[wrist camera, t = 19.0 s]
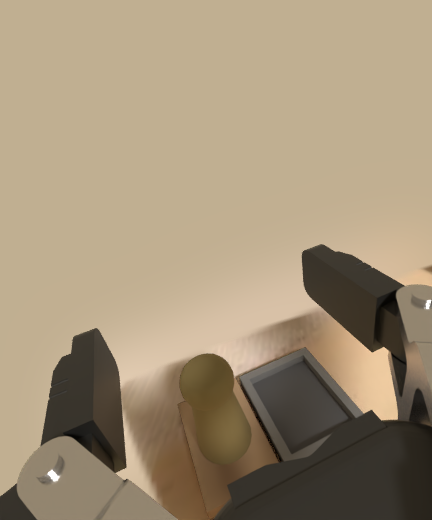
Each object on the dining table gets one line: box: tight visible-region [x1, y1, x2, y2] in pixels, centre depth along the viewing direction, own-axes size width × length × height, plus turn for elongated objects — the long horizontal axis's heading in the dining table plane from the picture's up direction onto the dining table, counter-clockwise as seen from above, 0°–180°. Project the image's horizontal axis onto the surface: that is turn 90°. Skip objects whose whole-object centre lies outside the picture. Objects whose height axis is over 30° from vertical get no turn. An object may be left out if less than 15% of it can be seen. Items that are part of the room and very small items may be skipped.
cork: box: [180, 354, 252, 465], centre depth 31 cm, size 6×6×11 cm
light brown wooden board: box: [178, 378, 279, 519], centre depth 34 cm, size 8×12×2 cm, turn 20°
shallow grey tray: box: [239, 347, 363, 462], centre depth 36 cm, size 10×12×2 cm
